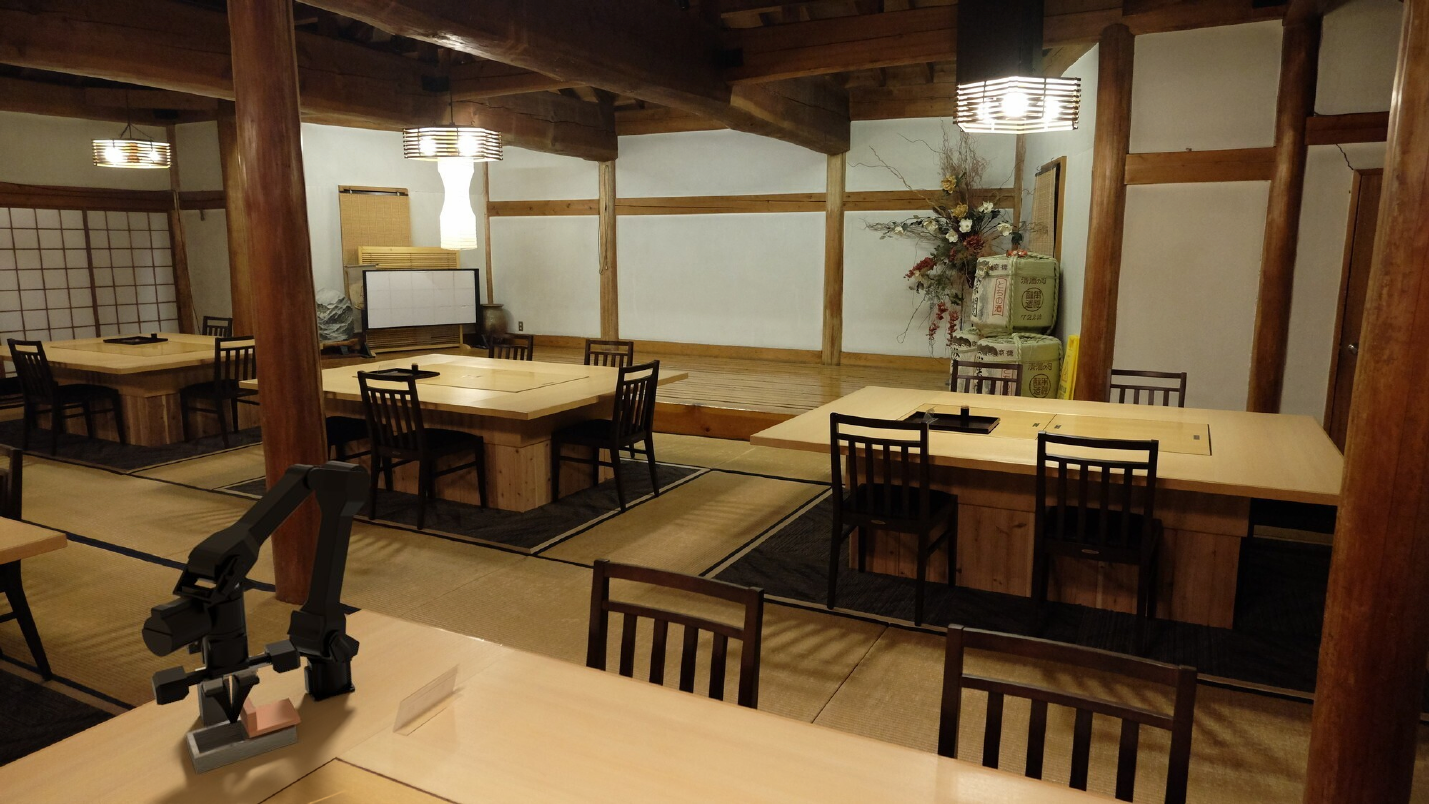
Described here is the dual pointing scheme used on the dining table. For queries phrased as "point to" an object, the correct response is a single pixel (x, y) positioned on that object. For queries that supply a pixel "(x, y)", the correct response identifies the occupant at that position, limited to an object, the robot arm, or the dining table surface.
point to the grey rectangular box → (232, 744)
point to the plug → (211, 706)
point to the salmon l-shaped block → (268, 716)
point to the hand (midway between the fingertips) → (233, 722)
